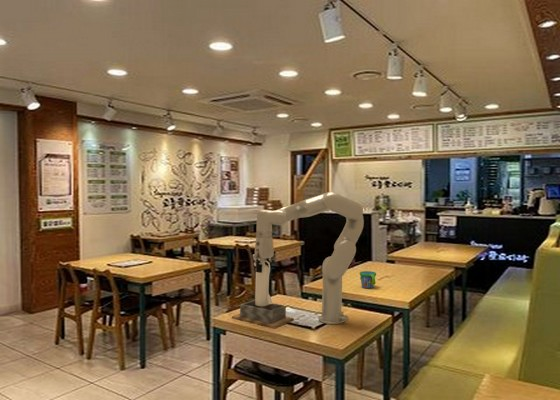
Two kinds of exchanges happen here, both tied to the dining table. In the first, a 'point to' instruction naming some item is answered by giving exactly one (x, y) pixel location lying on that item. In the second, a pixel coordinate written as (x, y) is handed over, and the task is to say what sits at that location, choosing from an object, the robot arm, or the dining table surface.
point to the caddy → (263, 314)
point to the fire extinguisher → (262, 285)
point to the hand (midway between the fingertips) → (263, 270)
